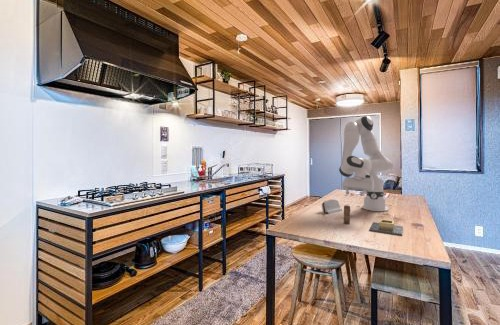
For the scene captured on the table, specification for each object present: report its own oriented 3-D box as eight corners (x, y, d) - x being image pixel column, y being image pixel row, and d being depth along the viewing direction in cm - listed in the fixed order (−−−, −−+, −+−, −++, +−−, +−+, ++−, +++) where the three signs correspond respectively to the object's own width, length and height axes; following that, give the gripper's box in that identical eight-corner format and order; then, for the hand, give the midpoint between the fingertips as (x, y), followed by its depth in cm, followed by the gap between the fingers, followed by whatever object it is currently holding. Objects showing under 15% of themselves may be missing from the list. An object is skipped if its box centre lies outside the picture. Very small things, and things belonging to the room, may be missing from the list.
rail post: (344, 222, 164) (344, 205, 163) (350, 223, 162) (350, 205, 161) (343, 223, 161) (343, 206, 160) (349, 224, 159) (349, 207, 158)
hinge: (328, 214, 184) (324, 200, 186) (323, 215, 188) (319, 201, 190) (342, 210, 194) (339, 197, 196) (337, 211, 197) (334, 198, 200)
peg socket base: (373, 223, 161) (373, 216, 160) (403, 227, 152) (403, 220, 152) (369, 230, 147) (369, 222, 147) (402, 235, 139) (402, 227, 138)
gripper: (344, 174, 182) (337, 189, 175) (374, 176, 168) (368, 193, 161) (346, 180, 185) (340, 195, 179) (376, 182, 171) (371, 199, 165)
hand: (354, 194), depth 170 cm, fingers open, 8 cm apart
